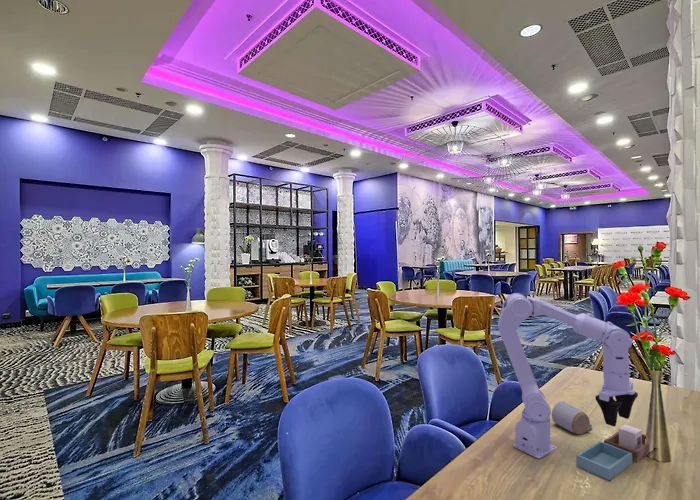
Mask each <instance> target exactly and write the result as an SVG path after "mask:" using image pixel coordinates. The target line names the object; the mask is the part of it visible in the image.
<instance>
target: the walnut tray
mask: <svg viewBox="0 0 700 500" xmlns="http://www.w3.org/2000/svg"><path fill="white" fill-rule="evenodd" d="M646 435H647V434H644V433H642V446H641V447H640V448H638V449H637V450H636V451H634V450H631V449H628V448H626V447H623V446H621V445H619V431H617V432H616V433H614V434H612V435H611V436H609V437H606V439H604V440H603V442H604V443H607V444H609V445H612V446H614V447H617V448H620V449H622V450H625V451H627V452H630V453H632V462H634V463H639V462H640V461H641V460H643V459H644V458H645V457H646V456H648V455H649V454H650V453H649V443H648V442H647V443H646V444H645V439H646ZM648 453H649V454H648Z"/></svg>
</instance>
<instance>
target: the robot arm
mask: <svg viewBox="0 0 700 500" xmlns="http://www.w3.org/2000/svg"><path fill="white" fill-rule="evenodd" d="M531 315H532V316H533V317H538V316H546V317H549V318H550V319H554V320H557V321H559V322H562V323H564V324H567V325H569V326H571V328H572V329H573V331H574V333H575V334H579V335H582V336H584V337H586V338H588V339H591V340H593V341H596V342H598V343H602V369H603V371H602V372H603V384H602V387H601V390H600V391H599V392H598V394H597V395H595V401H596V403H597V404H598V405H599V408H600V409H601V413H602V415H603V418H604V419H603V420H604V421H605V424H606V425H608V426H611V427H616V426H617V422H618V421H617V420H618V416H619V417H621V418H623V419H626V420H629V419H630V416H631V412H632V409H633V405H634V403H635V401H636V399H637V398H638V397H639V393H638V392H636V391H635V390H634V382H631V381H630V358H629V357H630V355H629V349H630V348H631V347H632V346H633V339H631V335H630V334H629V332H627V331H626V330H625V329H623V328H621V327H619V326H617V325H615V324H614V323H612V322H611V321H607V322H606V321H604V320H601V319H598V318H596V317H595V315H594V314H592V313H589V312H587V313H584V312H582V313H581V312H580V313H579V314H574V313H571V312H569V311H566V310H564V309H563V308H561V307H558V306H555V305H554V304H552V303H549V302H547V301H544V300H542V299H539V298H535V297H532V296H529V295H524V294H523V293H521V292H520V293H519V292H513V293H511V294H509V295H508V296H507V298H505V300H504V301H503V303H502V306H501V310H500V315H499V319H498V322H497V328H498V331H499V333H500V336H501V339H502V342H503V344H504V346H505V350H506V352H507V354H508V357H509V360H510V362H511V365H512V368H513V370H514V374H515V376H516V377H517V381H518V384H519V386H520V389H521V393H522V394H521V401H522V402H523V404H524V408H523V409H522V411H521V418H520V419H519V421H517V423H516V424H515V428H514V430H515V433H514V434H515V443H514V444H512V447H513V448H515V449H518V450H520V451H521V452H523V453H525V454H527V455H530V456H532V457H534V458H536V459H542V458H543V457H545V456H547V455H549V454H550V453H552V452H553V451H555V450H557V449H558V446H556V445H554V444H551V415H552V410H551V407H550V404H549V403H548V401H547V400H546V397H545V395H544V392H543V391H542V390H540V388H539V386H538V383H537V380H536V378H535V376H534V374H533V370H532V368H531V365H530V363H529V360H528V357H527V355H526V353H525V350H524V348H523V344H522V343H521V340H520V337H519V335H518V332H517V330H518V329H519V328H520V325H521V324H522V322H524V321H525V320H526V319H528V318H529V317H530V316H531ZM614 398H615V399H614Z"/></svg>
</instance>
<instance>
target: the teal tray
mask: <svg viewBox="0 0 700 500" xmlns="http://www.w3.org/2000/svg"><path fill="white" fill-rule="evenodd" d="M575 457H576V458H575V459H576V462H575V463H576V467H577V468H579V469H581V470H584V471H585V472H588V473H590V474H592V475H594V476H595V477H596V476H597V477H599V478H601V479H603V480H605V481H606V482H611V481H612V479H613V478H615V477H616V476H617V475H618V474H620V473H622V472H623V471H624V470H626V469H627V468H628V467H629V466H632V464H633V461H632V453H630V452H627V451H625V450H622V449H620V448H617V447H614V446H612V445H609V444H607V443H604V441H601V440H599V441H597V442H596V443H594V444H592V445H591V446H589V447H587V448H585V449H584V450H582V451H580V452H579V453H577V454H576V455H575Z"/></svg>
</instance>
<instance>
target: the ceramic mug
mask: <svg viewBox="0 0 700 500" xmlns="http://www.w3.org/2000/svg"><path fill="white" fill-rule="evenodd" d="M551 419H552V422H554V424H556V425H558V426H559V427H561V428H563V429H564V430H567V431H568V432H570V433H572V434H575V435H583V434H585V433H587V431H588V430H592V426H593V425H592V423H590V422H591V421H590V418H589V416H588V415H587V414H586V413H585V411H583V410H581V409H579V408H577V407H575V406H573V405H572V404H570V403H568V402H566V401H565V400H564V401H563V400H561V401H558V402H557V403H556V404H554V406H553V408H552V410H551Z"/></svg>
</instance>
